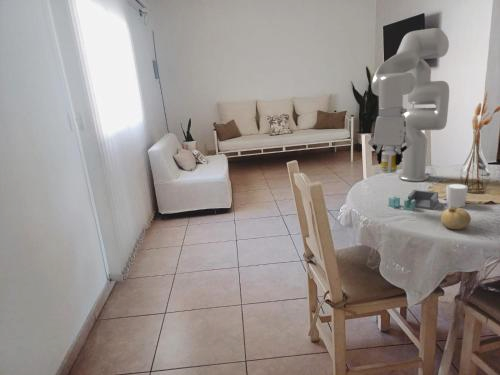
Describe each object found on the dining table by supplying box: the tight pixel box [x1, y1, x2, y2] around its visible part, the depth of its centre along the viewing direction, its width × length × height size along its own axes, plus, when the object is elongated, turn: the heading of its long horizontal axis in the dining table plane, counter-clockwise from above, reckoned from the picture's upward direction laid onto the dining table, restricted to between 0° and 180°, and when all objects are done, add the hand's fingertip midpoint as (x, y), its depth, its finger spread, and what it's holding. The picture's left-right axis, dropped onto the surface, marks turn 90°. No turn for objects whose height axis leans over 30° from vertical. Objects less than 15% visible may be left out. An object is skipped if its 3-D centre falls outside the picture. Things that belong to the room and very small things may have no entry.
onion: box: [440, 206, 471, 230], centre depth 110 cm, size 8×8×7 cm
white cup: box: [445, 183, 469, 208], centre depth 127 cm, size 7×7×7 cm
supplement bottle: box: [380, 145, 398, 174], centre depth 126 cm, size 5×5×10 cm
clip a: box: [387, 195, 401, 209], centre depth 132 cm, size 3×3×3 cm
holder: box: [407, 189, 439, 211], centre depth 131 cm, size 9×9×4 cm
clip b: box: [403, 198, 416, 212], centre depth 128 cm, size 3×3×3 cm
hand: (389, 163), depth 127 cm, fingers closed on supplement bottle, 5 cm apart
